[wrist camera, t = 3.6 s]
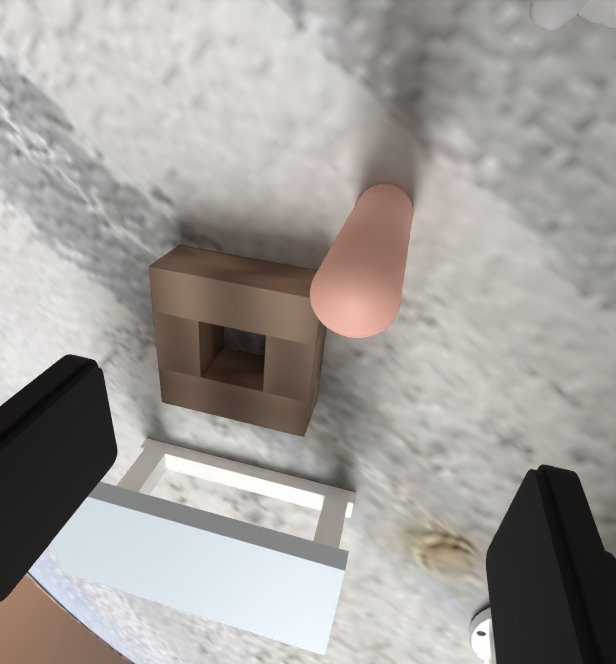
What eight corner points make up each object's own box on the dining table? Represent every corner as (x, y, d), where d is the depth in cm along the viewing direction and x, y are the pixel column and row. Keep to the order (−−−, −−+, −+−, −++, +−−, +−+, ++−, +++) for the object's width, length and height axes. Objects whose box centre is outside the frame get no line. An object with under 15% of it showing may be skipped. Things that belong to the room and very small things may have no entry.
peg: (418, 188, 26) (409, 264, 16) (406, 244, 27) (390, 345, 17) (360, 179, 26) (314, 247, 16) (351, 235, 28) (305, 328, 18)
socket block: (333, 273, 30) (320, 300, 26) (316, 401, 35) (304, 437, 32) (179, 245, 31) (148, 266, 28) (186, 372, 37) (162, 402, 34)
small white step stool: (370, 424, 35) (344, 570, 25) (352, 506, 40) (324, 655, 30) (138, 370, 38) (30, 480, 28) (148, 453, 43) (61, 571, 33)
